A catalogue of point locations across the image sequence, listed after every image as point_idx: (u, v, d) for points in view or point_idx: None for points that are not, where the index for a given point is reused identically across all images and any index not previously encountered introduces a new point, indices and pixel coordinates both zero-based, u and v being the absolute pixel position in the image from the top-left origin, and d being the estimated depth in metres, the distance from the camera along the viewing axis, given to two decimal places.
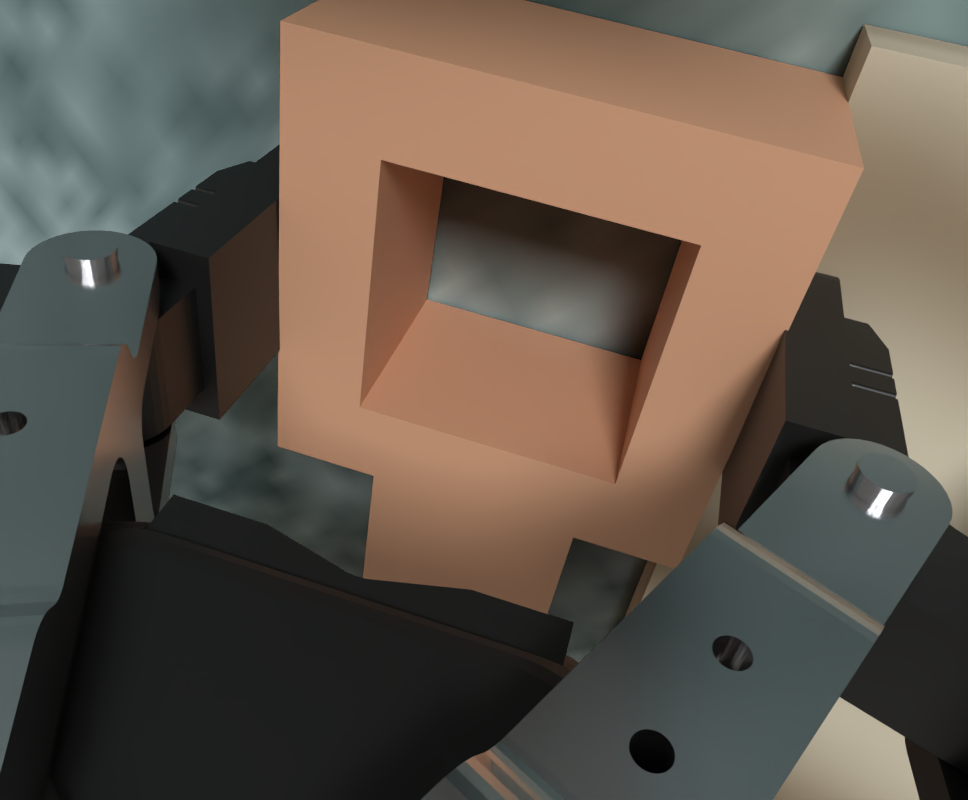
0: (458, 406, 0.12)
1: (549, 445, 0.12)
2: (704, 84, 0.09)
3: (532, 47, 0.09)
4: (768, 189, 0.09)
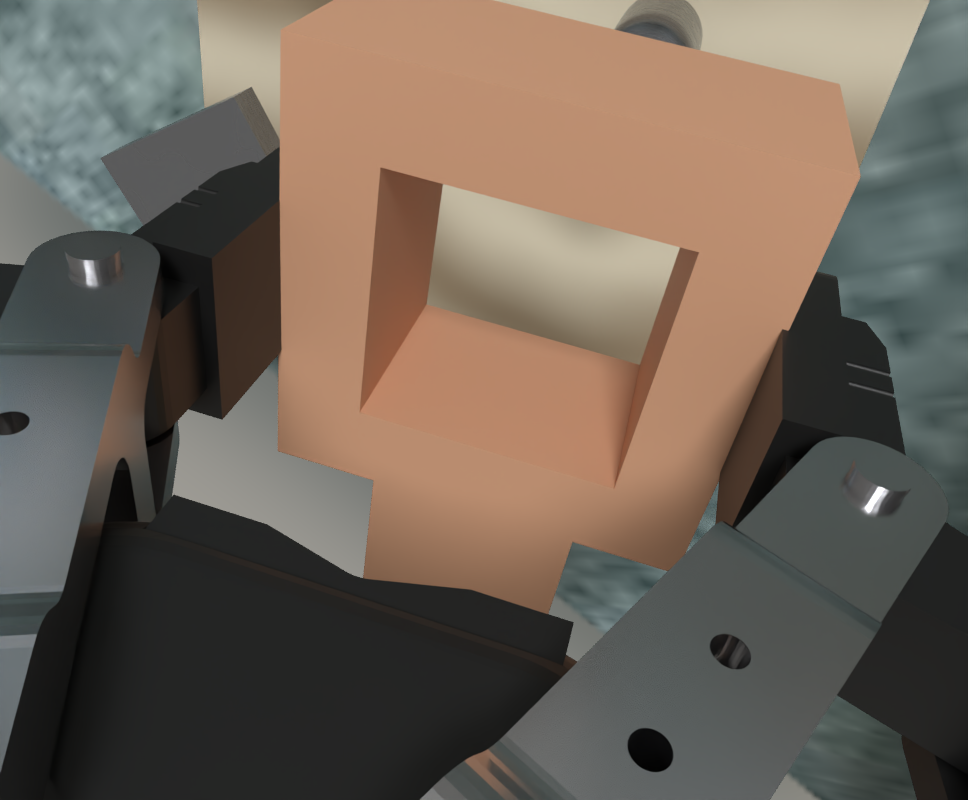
0: (457, 411, 0.12)
1: (548, 450, 0.12)
2: (702, 92, 0.09)
3: (531, 55, 0.09)
4: (765, 197, 0.09)
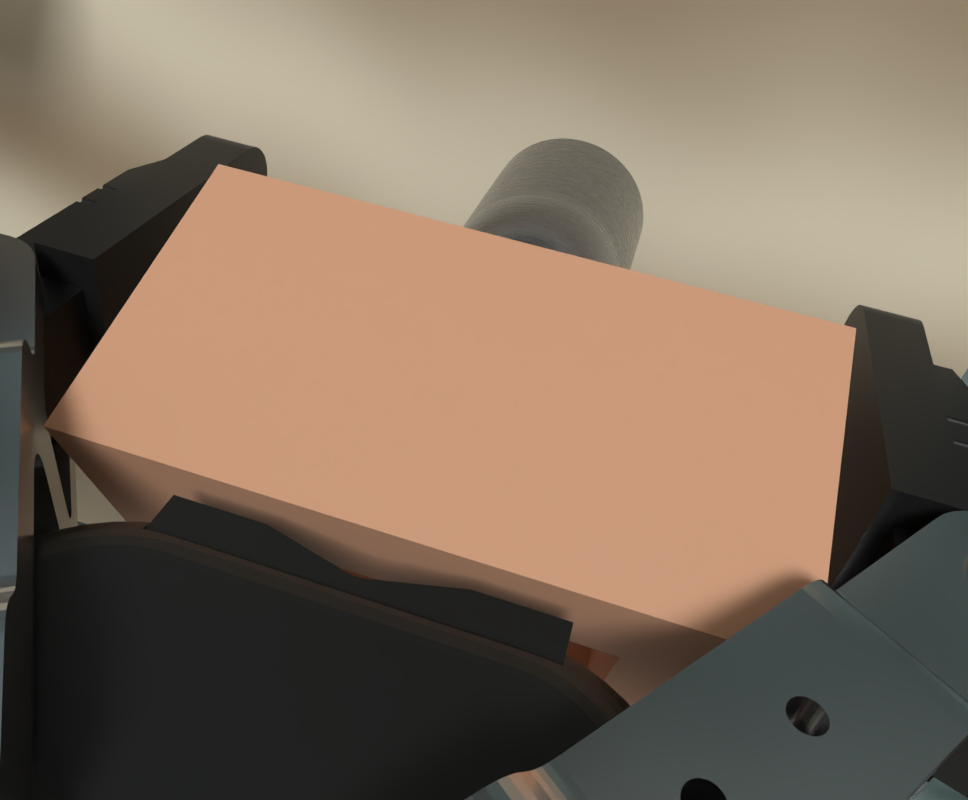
0: None
1: None
2: (628, 436, 0.07)
3: (390, 389, 0.07)
4: (691, 649, 0.06)
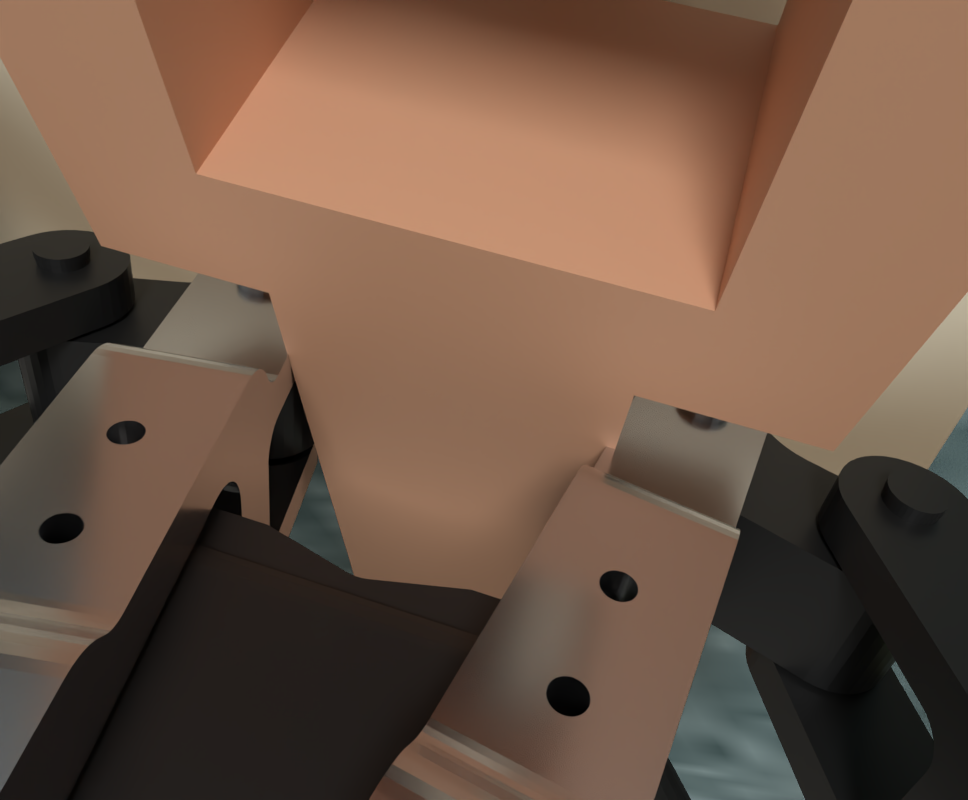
0: (397, 156, 0.06)
1: (579, 230, 0.06)
2: None
3: None
4: None
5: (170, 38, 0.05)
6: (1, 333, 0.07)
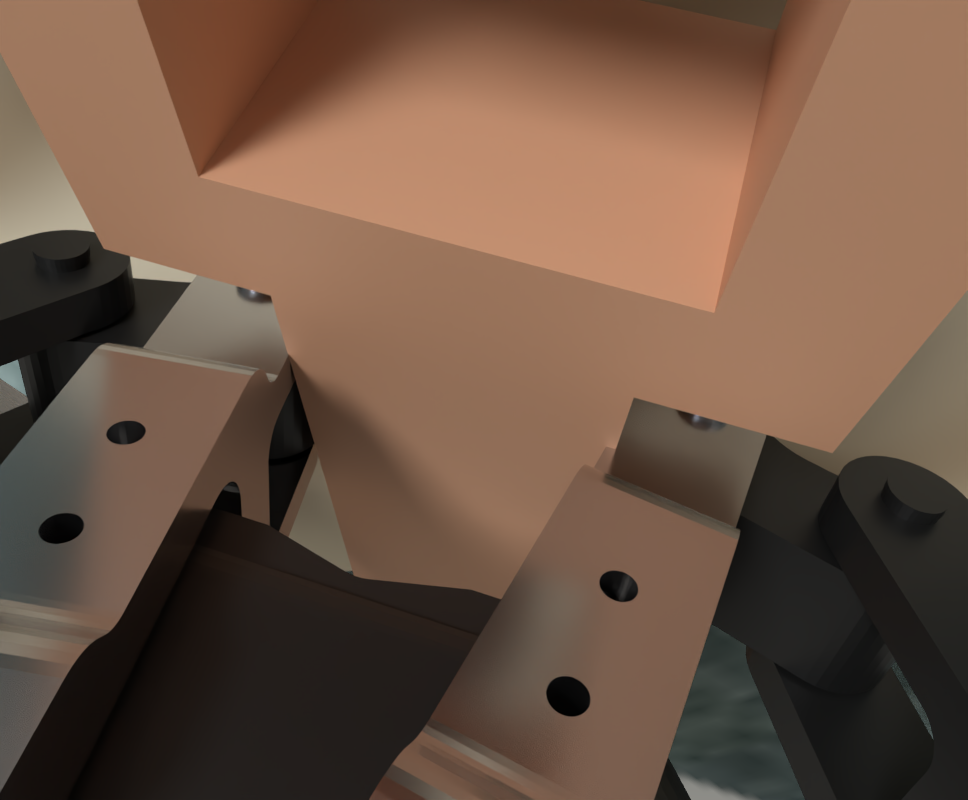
0: (398, 159, 0.06)
1: (579, 233, 0.06)
2: None
3: None
4: None
5: (173, 42, 0.05)
6: (1, 333, 0.07)
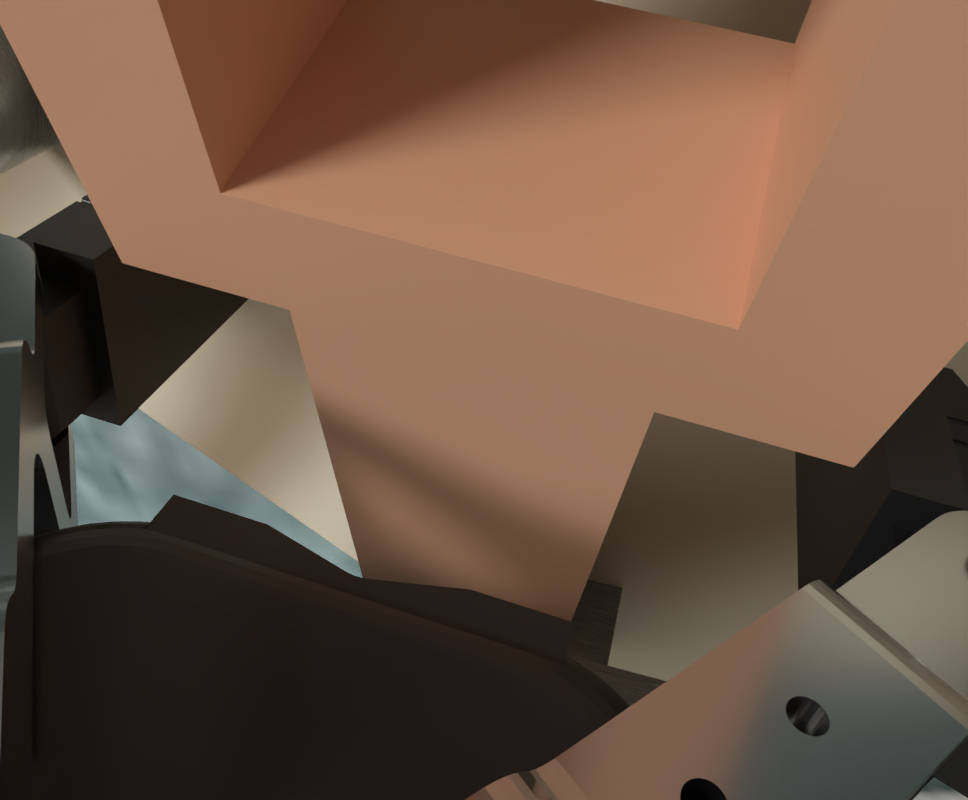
0: (420, 175, 0.06)
1: (601, 249, 0.06)
2: None
3: None
4: None
5: (198, 61, 0.05)
6: None
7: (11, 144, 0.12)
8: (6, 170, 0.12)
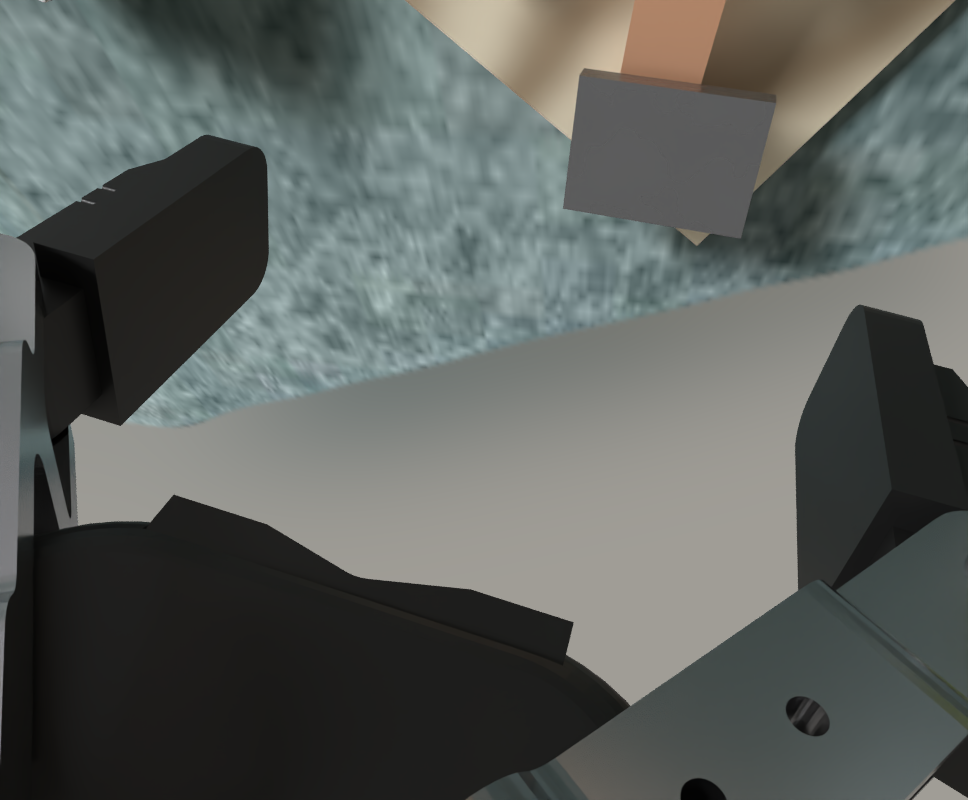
0: None
1: None
2: None
3: None
4: None
5: None
6: None
7: None
8: None
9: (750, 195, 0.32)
